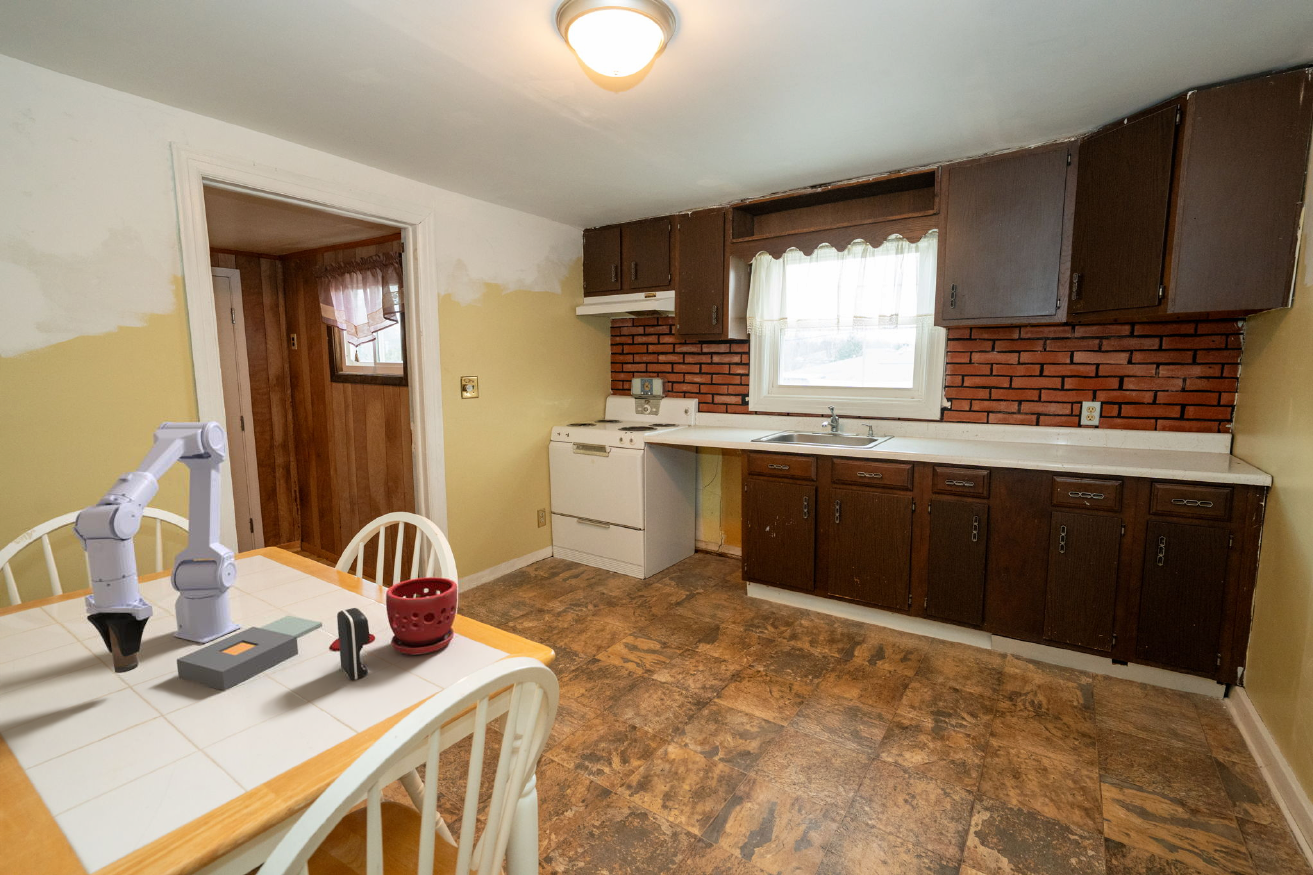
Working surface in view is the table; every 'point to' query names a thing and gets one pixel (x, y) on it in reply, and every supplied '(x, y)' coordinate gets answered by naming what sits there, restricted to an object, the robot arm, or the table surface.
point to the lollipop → (336, 647)
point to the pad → (293, 626)
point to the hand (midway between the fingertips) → (124, 651)
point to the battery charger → (352, 641)
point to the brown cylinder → (121, 657)
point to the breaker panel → (237, 658)
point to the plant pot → (421, 614)
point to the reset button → (238, 648)
